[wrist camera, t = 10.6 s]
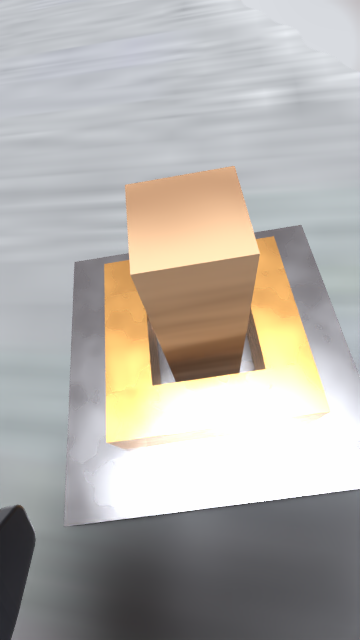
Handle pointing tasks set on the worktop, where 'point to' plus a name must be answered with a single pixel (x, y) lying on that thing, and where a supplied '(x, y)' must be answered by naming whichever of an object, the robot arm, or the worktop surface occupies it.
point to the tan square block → (194, 268)
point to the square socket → (209, 398)
